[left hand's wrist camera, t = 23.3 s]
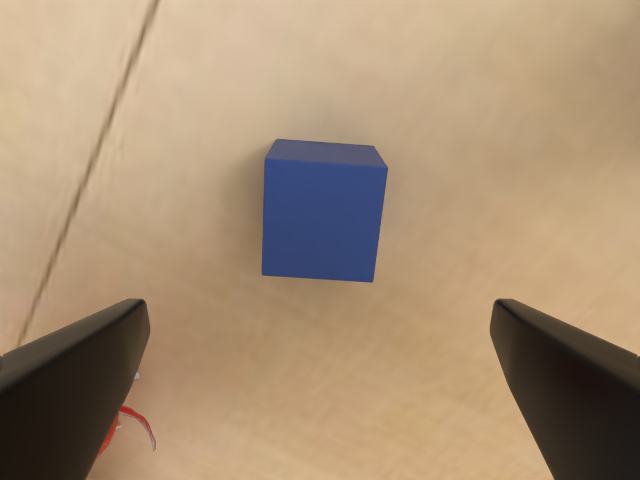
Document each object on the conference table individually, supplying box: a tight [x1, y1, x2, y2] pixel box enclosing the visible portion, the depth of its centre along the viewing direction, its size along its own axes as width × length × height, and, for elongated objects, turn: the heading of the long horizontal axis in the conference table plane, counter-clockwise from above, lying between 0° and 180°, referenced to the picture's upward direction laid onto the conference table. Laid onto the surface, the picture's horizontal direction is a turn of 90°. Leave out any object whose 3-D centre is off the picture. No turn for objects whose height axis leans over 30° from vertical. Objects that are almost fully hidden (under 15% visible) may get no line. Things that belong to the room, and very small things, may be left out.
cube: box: [262, 139, 388, 282], centre depth 20 cm, size 5×5×5 cm
